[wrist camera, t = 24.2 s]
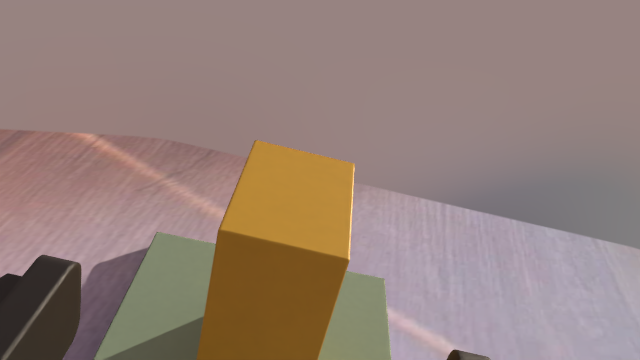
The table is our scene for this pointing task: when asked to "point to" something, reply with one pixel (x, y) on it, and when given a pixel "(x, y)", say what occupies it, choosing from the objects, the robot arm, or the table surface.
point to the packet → (279, 257)
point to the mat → (190, 300)
